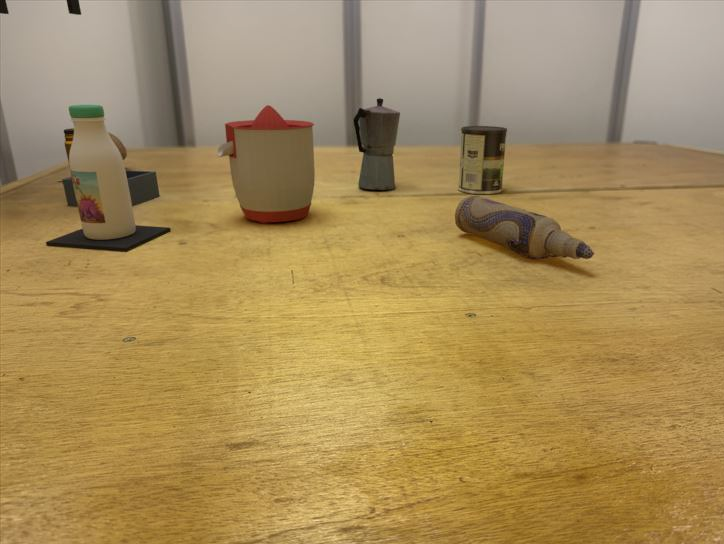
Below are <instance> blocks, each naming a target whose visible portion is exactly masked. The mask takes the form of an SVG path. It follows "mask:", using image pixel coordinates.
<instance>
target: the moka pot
mask: <svg viewBox="0 0 724 544" xmlns="http://www.w3.org/2000/svg"><path fill="white" fill-rule="evenodd" d="M383 103H384V99H383V98H380V97H379V98H377V99H376V106H372V107H367V108H362V107H359V108H358V110H357V113H356V114H355V115H354V118H353V126H354V130H355V131H354V132H355V135H356V141H357V147H358V152H359V153H363V154H362V159H361V164H360V165H361V166H360V171H359V178H358V185H357V186H358V187H359V188H360V189H363V190H371V191H390V190H394V189H396V181H395V167H394V166H395V165H394V164H395V163H394V156H393V155H394V151H395V146H396V145H397V144H396V143H397V137H398V130H399V123H400V118H401V113H400V111H398V110H395V109H392V108H389V107H387V106H384V105H383Z"/></svg>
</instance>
